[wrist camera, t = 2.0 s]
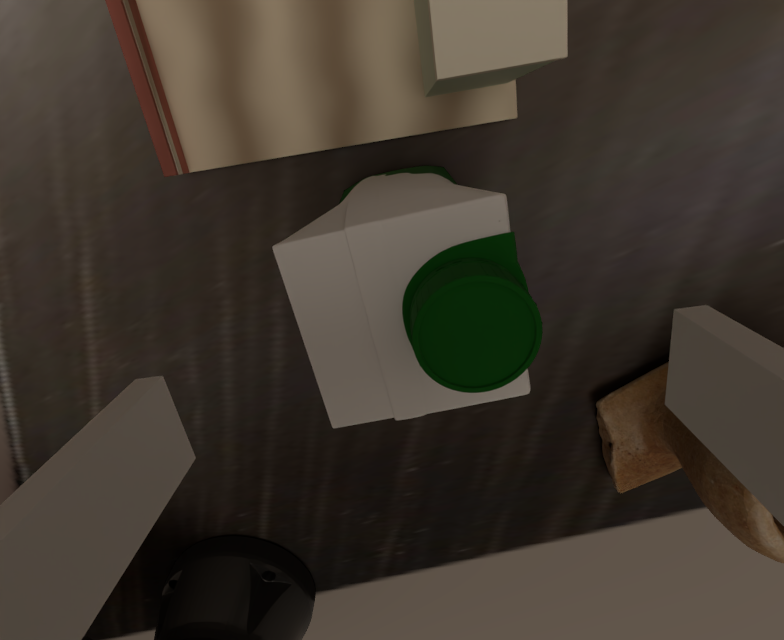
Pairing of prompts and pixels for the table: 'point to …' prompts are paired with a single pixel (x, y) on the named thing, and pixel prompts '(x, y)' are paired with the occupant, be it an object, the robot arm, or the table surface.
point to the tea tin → (487, 41)
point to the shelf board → (284, 78)
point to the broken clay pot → (678, 460)
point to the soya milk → (411, 298)
